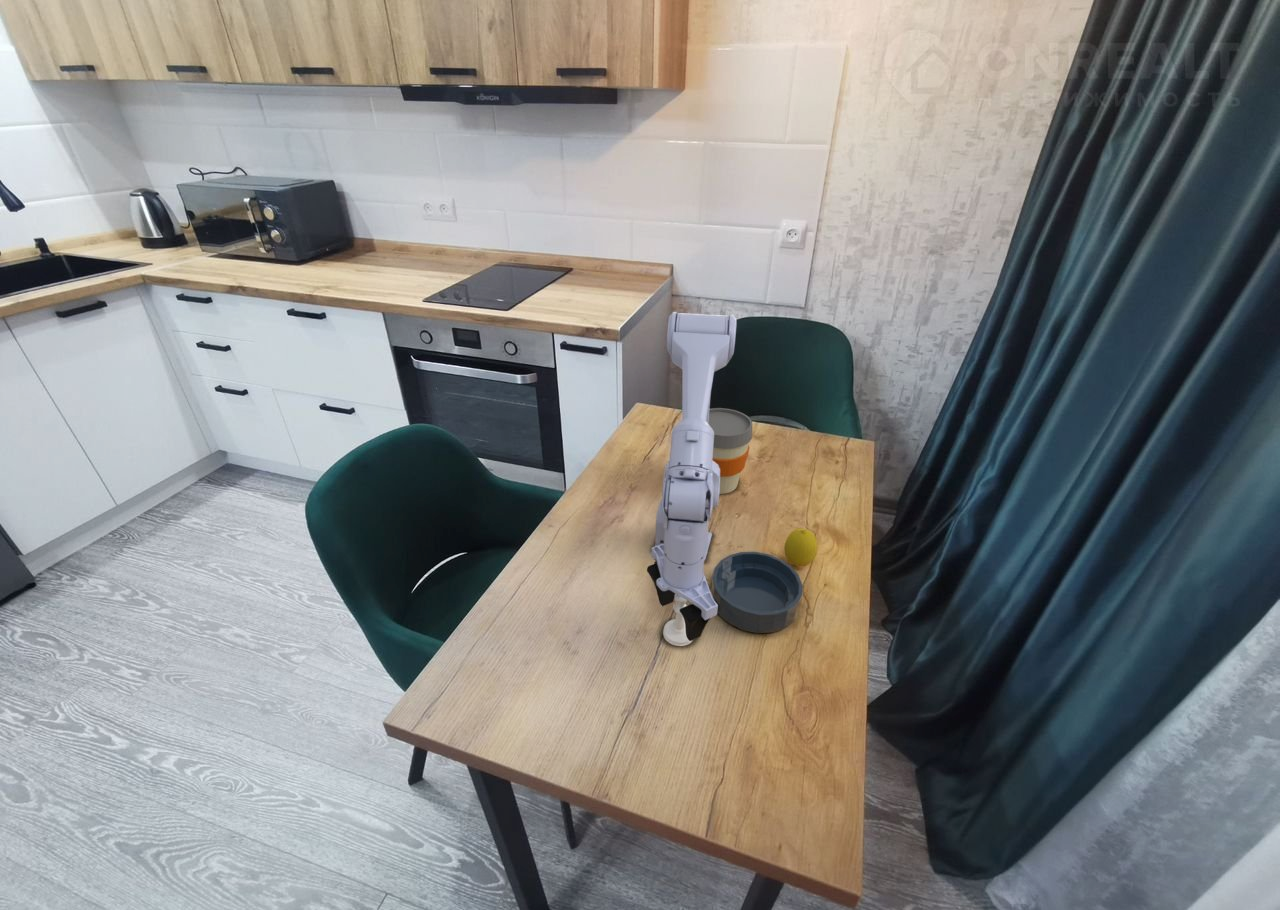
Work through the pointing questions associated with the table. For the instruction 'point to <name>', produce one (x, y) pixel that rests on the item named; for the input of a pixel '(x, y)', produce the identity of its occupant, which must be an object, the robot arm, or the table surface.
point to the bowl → (756, 591)
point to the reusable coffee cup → (730, 444)
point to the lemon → (801, 547)
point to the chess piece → (677, 625)
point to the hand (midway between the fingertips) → (679, 619)
